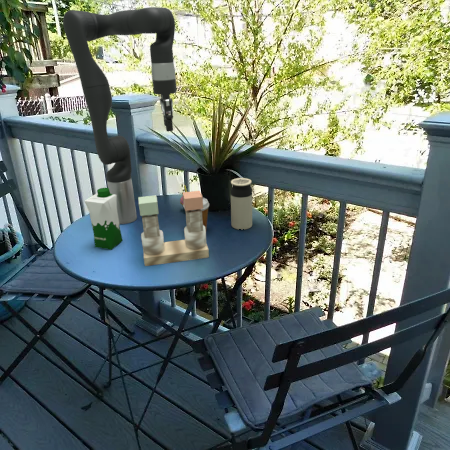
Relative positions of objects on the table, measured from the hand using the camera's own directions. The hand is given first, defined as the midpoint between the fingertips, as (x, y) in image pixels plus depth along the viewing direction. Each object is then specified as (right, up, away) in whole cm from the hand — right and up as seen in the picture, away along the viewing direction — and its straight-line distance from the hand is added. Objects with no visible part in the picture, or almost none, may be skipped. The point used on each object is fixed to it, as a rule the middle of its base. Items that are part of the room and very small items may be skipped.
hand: (168, 128), depth 136 cm
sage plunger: (-5, -35, -7) cm, 36 cm away
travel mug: (+26, -33, +17) cm, 45 cm away
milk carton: (-22, -40, +8) cm, 46 cm away
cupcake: (+5, -27, +32) cm, 42 cm away
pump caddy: (+3, -43, -1) cm, 43 cm away
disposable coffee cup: (+9, -35, +14) cm, 39 cm away
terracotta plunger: (+9, -33, -4) cm, 35 cm away
